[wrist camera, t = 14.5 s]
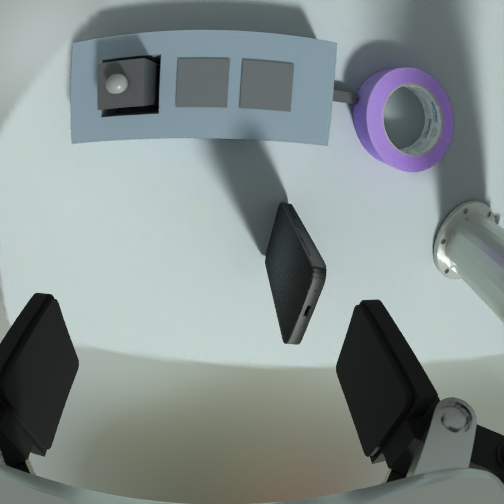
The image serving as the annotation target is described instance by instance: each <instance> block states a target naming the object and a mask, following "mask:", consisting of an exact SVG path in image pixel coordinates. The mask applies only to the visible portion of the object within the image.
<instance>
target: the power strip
mask: <svg viewBox="0 0 504 504" xmlns="http://www.w3.org/2000/svg"><path fill="white" fill-rule="evenodd" d="M336 52H337V43H335V42H330V41H325V40H319V39H313V38H307V37H300V36H292V35H284V34H275V33H265V32H253V31H236V30H173V31H156V32H144V33H134V34H125V35H117V36H110V37H103V38H97V39H91V40H86V41H80V42H75V43H73V48H72V64H71V139H72V144H75V143H86V142H98V141H112V140H130V139H156V138H221V139H248V140H266V141H281V142H294V143H305V144H315V145H325V146H328V139H329V130H330V121H331V111H332V101H337V102H343V103H349V104H356V105H357V97H358V94H356V93H351V92H345V91H339V90H334V78H335V66H336ZM140 58H146V59H148V60H150V61H161V67H160V88H159V111H157V112H136V113H121V114H118V108H112V109H103V110H97V85H98V64H99V63H106V62H113V61H121V60H130V59H140Z"/></svg>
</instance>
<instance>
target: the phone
mask: <svg viewBox="0 0 504 504" xmlns="http://www.w3.org/2000/svg"><path fill="white" fill-rule="evenodd" d="M265 265H266V269H267V274H268V278H269V282H270V287H271V291H272V295H273V300H274V304H275V308H276V313H277V317H278V322H279V326H280V330H281V335H282V339H283V342H284V343H285V344H300V342H301V340H302V338H303V336H304V333H305V331H306V329H307V326H308V324H309V321H310V319H311V316H312V314H313V311H314V309H315V306H316V304H317V301H318V299H319V296H320V294H321V291H322V289H323V286H324V283H325V279H326V265H325V262H324V260H323V259H322V257H321V255H320V253H319V251H318V250H317V248H316V246H315V244H314V242H313V241H312V239H311V237H310V235H309V234H308V232H307V230H306V228H305V227H304V225H303V223H302V221H301V220H300V218H299V216H298V214H297V213H296V211H295V209H294V207H293V206H292V204H287V203H282V202H281V203H280V205H279V208H278V211H277V215H276V219H275V223H274V227H273V230H272V234H271V238H270V242H269V245H268V249H267V253H266V259H265Z"/></svg>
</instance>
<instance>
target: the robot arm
mask: <svg viewBox="0 0 504 504" xmlns="http://www.w3.org/2000/svg"><path fill="white" fill-rule="evenodd" d="M434 261H435V264H436V267H437V268H438V270H439V271H440V272H441V273H442V274H443V275H444V276H445V277H447V278H450V279H460V278H461V279H462V280H463V281H464V282H465V283H466V284H467V285H468V286H469V287H470V288H471V289H472V290H473V291H474V292H475V293H476V294H477V295H478V296H479V297H480V298H481V299H482V300H483V301H484V302H485V303H486V304H487V305H488V307H489V308H490V309H491V310H492V311H493V312H494V313H495V314H496V315H497V316H498V317H499V319H500V320H501V321H502V322H503V323H504V229H503V228H502V227H500V226H499V225H497V224H496V222H495V217H494V214H493V212H492V211H491V209H490V208H489V207H488V206H487V205H485V204H484V203H482V202H480V201H475V200H473V201H467V202H464V203H462V204H461V205H459V206H457V207H456V208H455V209H454V210H453V211H452V212H451V213H450V214H449V215H448V216H447V217H446V219H445V220H444V222H443V223H442V225H441V227H440V229H439V231H438V234H437V237H436V240H435V244H434ZM78 367H79V361H78V357H77V355H76V352H75V349H74V347H73V344H72V341H71V339H70V336H69V333H68V330H67V327H66V325H65V322H64V319H63V316H62V312H61V309H60V306H59V303H58V301H57V300H56V299H54V297H53V296H52V295H51V294H43V293H35V294H34V295H33V296H32V298H31V299H30V300H29V302H28V303H27V305H26V306H25V307H24V309H23V310H22V312H21V313H20V315H19V316H18V317H17V319H16V320H15V322H14V323H13V325H12V326H11V328H10V329H9V331H8V332H7V334H6V336H5V337H4V339H3V340H2V342H1V343H0V504H184V503H169V502H159V501H150V500H142V499H135V498H128V497H121V496H116V495H110V494H104V493H100V492H95V491H90V490H86V489H82V488H78V487H73V486H70V485H66V484H62V483H59V482H55V481H52V480H48V479H45V478H42V477H39V476H36V474H35V472H34V469H33V467H32V465H31V463H30V460H29V458H28V457H29V454H30V452H31V453H34V454H37V455H41V456H45V454H46V451H47V449H50V448H51V446H52V442H53V440H54V436H55V433H56V430H57V427H58V424H59V420H60V418H61V415H62V412H63V409H64V406H65V403H66V400H67V397H68V394H69V392H70V389H71V386H72V384H73V381H74V378H75V376H76V373H77V370H78ZM336 372H337V376H338V379H339V382H340V384H341V387H342V390H343V393H344V395H345V398H346V401H347V404H348V407H349V410H350V412H351V416H352V418H353V422H354V424H355V427H356V430H357V433H358V436H359V439H360V442H361V445H362V448H363V451H364V454H365V455H366V456H367V457H369V456H370V458H371V461H372V464H374V463H378V462H382V461H386V463H387V465H388V471H387V473H386V475H385V477H384V479H383V481H382V483H381V484H380V485H376V486H372V487H367V488H363V489H358V490H354V491H349V492H344V493H338V494H333V495H328V496H322V497H315V498H309V499H302V500H293V501H283V502H272V503H258V504H504V436H503V435H501V434H499V433H496V432H494V431H491V430H489V429H486V428H484V427H482V426H479V425H477V418H476V415H475V412H474V410H473V409H472V407H471V406H470V405H469V404H468V403H467V402H465V401H463V400H461V399H458V398H454V397H452V398H445V399H443V400H441V401H440V400H439V398H438V394H437V392H436V390H435V388H434V387H433V385H432V383H431V381H430V380H429V378H428V376H427V375H426V373H425V371H424V369H423V368H422V366H421V364H420V363H419V361H418V359H417V358H416V356H415V354H414V353H413V351H412V349H411V348H410V346H409V344H408V343H407V341H406V340H405V338H404V336H403V335H402V333H401V332H400V330H399V328H398V327H397V325H396V324H395V322H394V320H393V319H392V317H391V316H390V314H389V313H388V311H387V310H386V308H385V307H384V305H383V303H382V302H381V301H380V300H363V301H361V302H360V304H359V305H356V306H355V308H354V311H353V315H352V318H351V321H350V324H349V328H348V331H347V334H346V337H345V340H344V343H343V346H342V349H341V352H340V355H339V358H338V361H337V365H336Z"/></svg>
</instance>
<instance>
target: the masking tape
mask: <svg viewBox="0 0 504 504" xmlns="http://www.w3.org/2000/svg"><path fill="white" fill-rule="evenodd" d="M402 86H403V87H406V88H408V89H409V90H411V91H412V92H413V93H414V94H415V95H416V96H417V97H418V99H419V100H420V102H421V104H422V107H423V110H424V115H425V122H424V127H423V130H422V133H421V135H420V137H419V138H418V139H417V140H416V141H415V142H414V143H413V144H412V145H410V146H408V147H406V148H401V149H398V148H396V147H395V146H394V145H393V143H392V142H391V141H390V139H389V137H388V135H387V133H386V130H385V126H384V109H385V105H386V102H387V100H388V98H389V97H390V95H391V94H392V93H393V92H394V91H395V90H396V89H398V88H400V87H402ZM357 94H358V97H357V105H356V104H354V108H353V120H354V126H355V130H356V133H357V136H358V138H359V140H360V142H361V143H362V145H363V146H364V148H365V149H366V150H367V151H368V152H369V153H370V154H371V155H372V156H373V157H375V158H376V159H378V160H379V161H381V162H383V163H386V164H388V165H390V166H392V167H394V168H396V169H398V170H401V171H406V172H419V171H423V170H426V169H428V168H430V167H432V166H433V165H435V164H436V163H437V162H438V161H439V160H440V159H441V158H442V157H443V155H444V154H445V153H446V151H447V149H448V147H449V145H450V142H451V139H452V135H453V129H454V116H453V109H452V106H451V102H450V100H449V97H448V95H447V93H446V92H445V90H444V88H443V87H442V86H441V84H440V83H439V82H438V81H437V80H436V79H435V78H434V77H432V76H431V75H430V74H428V73H426V72H425V71H422V70H420V69H417V68H412V67H400V68H390V69H384V70H380V71H378V72H376V73H374V74H372V75H371V76H370V77H368V78H367V79H366V80H365V81H364V82H363V84H362V85H361V87H360V88H359V90H358V92H357Z"/></svg>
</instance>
